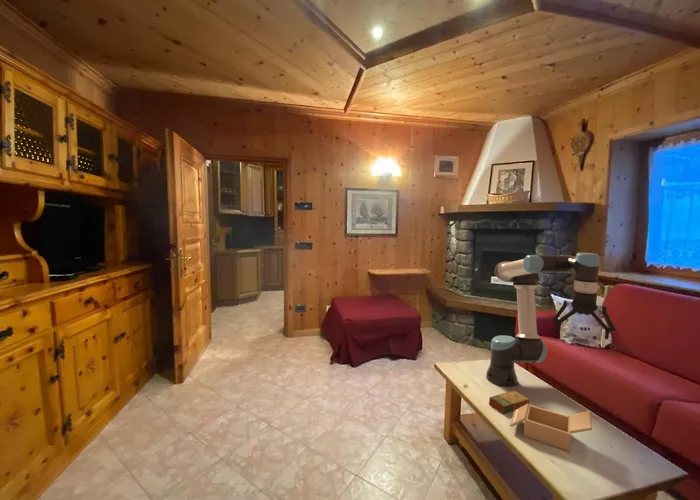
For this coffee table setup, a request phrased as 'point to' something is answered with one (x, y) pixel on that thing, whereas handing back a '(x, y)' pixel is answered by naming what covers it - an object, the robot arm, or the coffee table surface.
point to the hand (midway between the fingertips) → (581, 342)
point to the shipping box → (544, 426)
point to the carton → (508, 401)
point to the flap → (580, 422)
